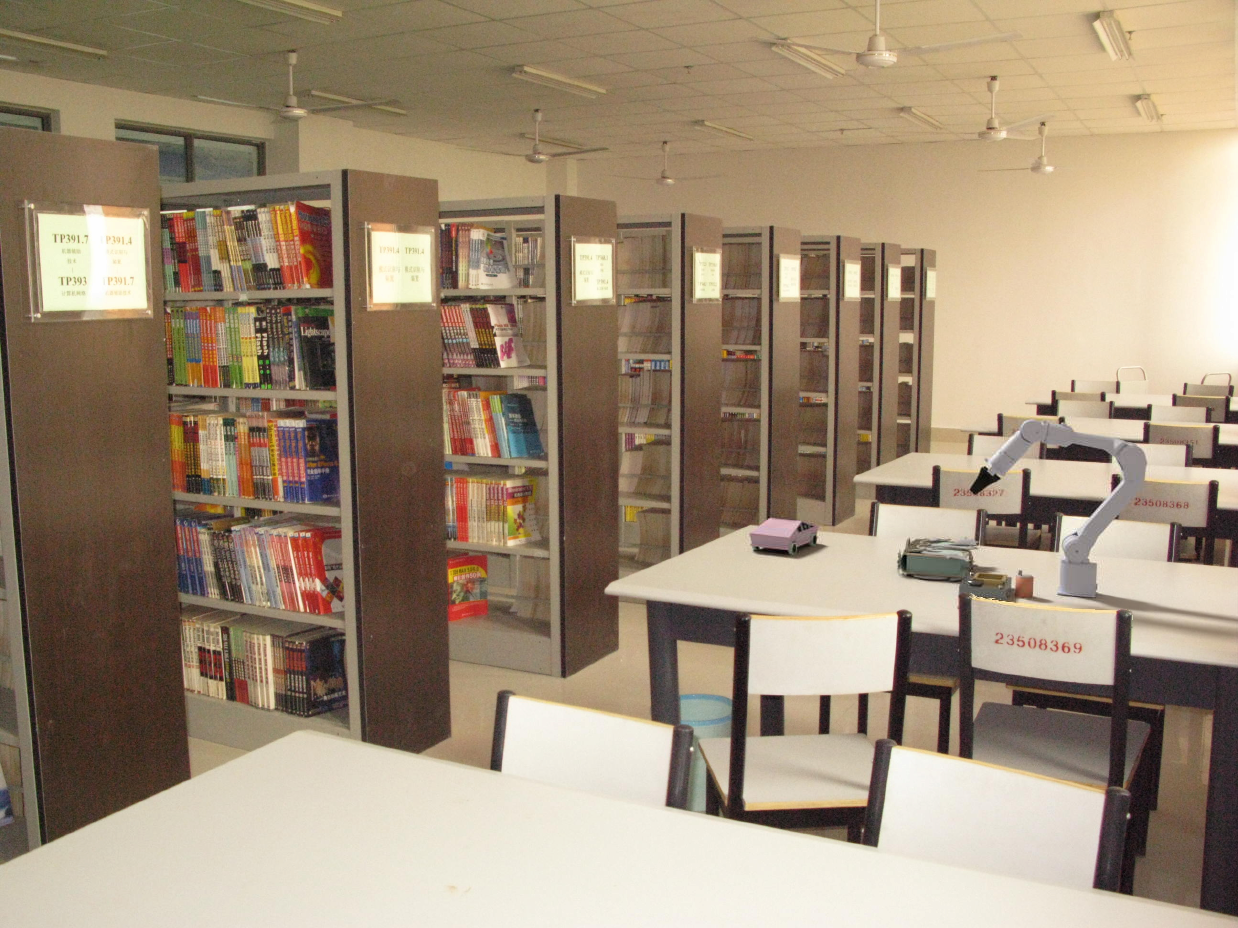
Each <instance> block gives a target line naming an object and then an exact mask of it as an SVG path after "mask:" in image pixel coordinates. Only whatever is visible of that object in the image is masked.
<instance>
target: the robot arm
mask: <svg viewBox="0 0 1238 928" xmlns="http://www.w3.org/2000/svg"><path fill="white" fill-rule="evenodd" d="M1037 442H1041V443H1042V444H1047V445H1051V446H1052V445H1053V446H1059V447H1063V448H1067V447H1068V446H1070V445H1072V444H1074V445H1080V446H1084V447H1085V446H1086V447H1089V448H1095V449H1100V450H1104V451H1106V453H1108V454H1109V455H1111V456H1112V457H1114V458H1115V460H1116V462H1117V464H1118V465H1119V468H1120V473H1121V477H1122V480H1121V481H1120V483H1119V484H1118V485H1116V487H1115V488H1114V489H1113V490H1112V491H1111V493H1110V494H1109V495H1108V496H1107V497H1106V498H1105V499H1104V501H1102V502H1101V504H1100V505H1099V506H1098V507H1097V508H1096V510H1095V511H1093V513H1092V514H1091V515H1090V517H1088V519H1087V520H1086V521H1085V522H1084V524H1082V525H1081V526H1080V527H1078V528H1077V529H1076V530H1075V531H1074V532H1073V533H1071V534H1067V535H1066V536H1065V537H1064V538H1063V540H1062V541H1061V548H1062V551H1063V553H1064V555H1063V556H1061V558H1060V566H1059V567H1060V568H1059V569H1060V570H1059V586H1058V588H1057V590H1056V591H1057V593H1056V594H1057V595H1060V596H1072V597H1084V598H1096V594H1097V591H1098V583H1097V577H1098V576H1097V575H1098V570H1097V569H1098V562H1097V563H1096V562H1092V561H1091V562H1090V558H1089V556H1090V553H1091V549H1092V548H1093V547H1094V545H1096V542H1097V540H1098V538H1099V536H1101V534H1102V533H1103V532H1105V530H1106V529H1107V527H1109V525H1110V524H1111V523H1112V522H1113V521H1114V520H1115V519H1116V518H1117V516H1119V514H1120V513H1121V512H1122V511H1123V510H1124V509H1125V508H1126V507H1127V505H1128V504H1129V503H1130V502H1131V501H1132V500H1133V498H1135V497H1136V496H1137V494H1138V493H1139V492H1140V491H1141V490H1142V489H1143V487H1144V486H1145V481H1146V480H1145V477H1146V472H1147V471H1146V469H1147V467H1148V461H1147V457H1146V453H1145V452H1144V450H1143V449H1142V448H1141V447H1139V446H1138V445H1137V444H1136V443H1134V442H1131V441H1125V440H1123V439H1120V438H1116V437H1113V436H1106V435H1100V434H1099V435H1098V434H1093V433H1087V432H1085V433H1083V432H1077V431H1074V428H1073V427H1072V426H1071V425H1067V422H1061V424H1059V423H1054V422H1048V421H1047V420H1045V419H1043V420H1042V421H1039V420H1036V419H1027V420H1025V421H1024V422H1023V421H1022V422H1021V424H1020V426H1019V429H1018V430H1017V431H1015V433H1014V434H1013V435H1012V436H1010V437H1009V439H1008V440H1007V441H1006V442H1005V443H1004V444H1002V446H1001V447H1000V448H999V449H998V450H997V451H996V452H995V453H994V454H993V455H992V457H991V458H990V459H988V458H987V457H984V459H983V461H985V463H986V464H987V465H988V467H989V468H988V467H987V466H985V465H984V466H981V467H980V470H979V472H978V476H977V477H976V479H975V480H974V482H973V483H972V484H971V486H970V488H969V492H970V493H972V494H973V495H974V496H976V495H977V494H979V493H980V492H982V491H983V490H985V489H986V488H987V487H988V486H990V485H992V484H995V483H998V481H1000V480H1002V478H1001V477H1000V476H1002V477H1005V476H1006V474H1007V473H1008V471H1010V470H1011V469H1012V468H1013V467H1014V466H1015V464H1017V462H1018V461H1019V460H1021V458H1022V457H1023V456H1024V455H1025V454H1026V453H1027V452H1028V451H1029V449H1030V448H1031V446H1033V445H1034V443H1037ZM999 475H1000V476H999Z"/></svg>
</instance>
